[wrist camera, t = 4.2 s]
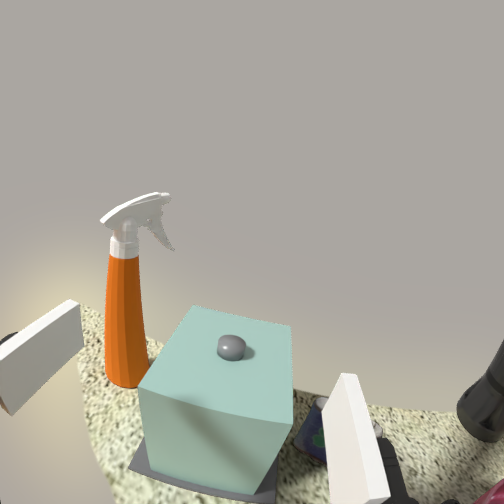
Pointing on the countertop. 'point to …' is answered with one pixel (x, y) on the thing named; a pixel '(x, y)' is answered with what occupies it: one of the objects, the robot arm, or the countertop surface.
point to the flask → (318, 433)
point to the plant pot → (493, 495)
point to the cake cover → (219, 400)
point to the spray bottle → (128, 288)
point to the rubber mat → (261, 496)
